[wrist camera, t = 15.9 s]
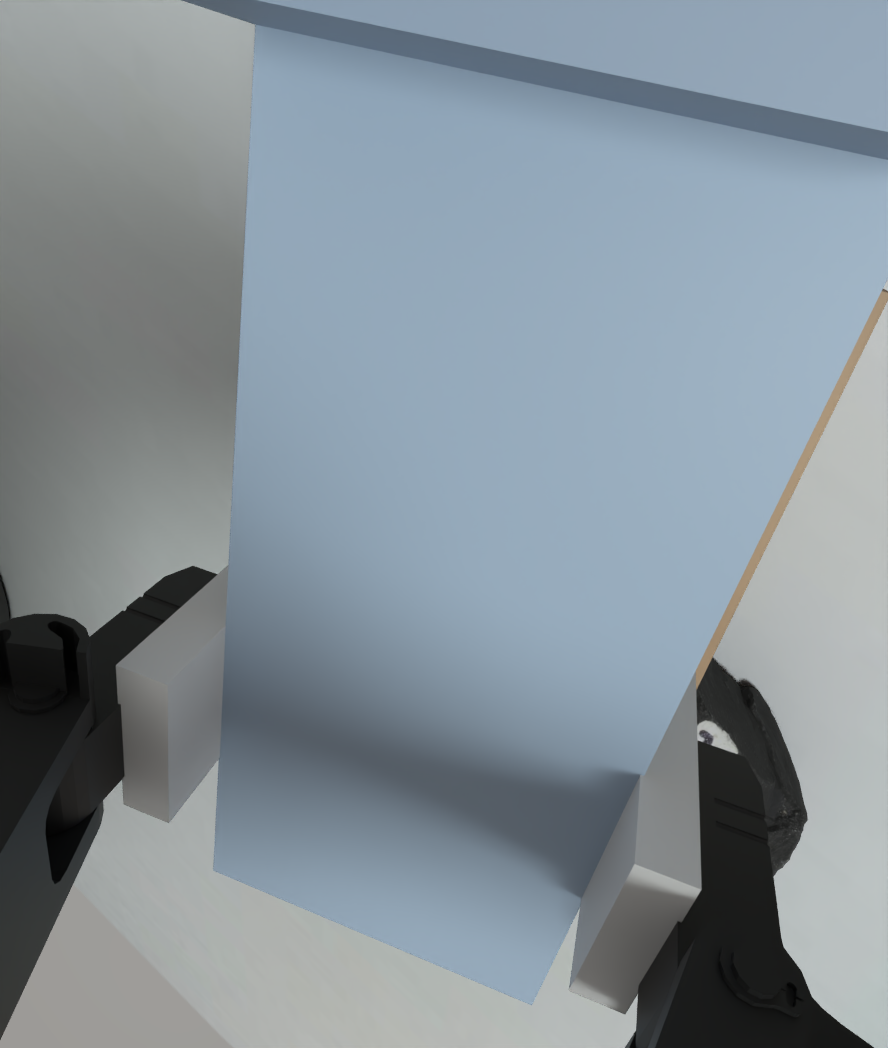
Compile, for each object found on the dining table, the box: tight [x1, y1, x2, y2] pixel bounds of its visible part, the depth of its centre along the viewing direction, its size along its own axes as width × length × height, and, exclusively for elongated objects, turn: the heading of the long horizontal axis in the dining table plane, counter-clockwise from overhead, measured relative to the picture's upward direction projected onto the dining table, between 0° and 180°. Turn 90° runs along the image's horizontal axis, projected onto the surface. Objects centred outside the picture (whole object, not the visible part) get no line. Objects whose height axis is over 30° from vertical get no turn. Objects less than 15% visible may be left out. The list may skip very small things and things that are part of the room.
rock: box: [696, 658, 808, 876], centre depth 28 cm, size 10×9×6 cm
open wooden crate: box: [696, 289, 888, 690], centre depth 20 cm, size 10×14×11 cm
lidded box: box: [182, 0, 888, 1005], centre depth 10 cm, size 14×6×8 cm, turn 169°
